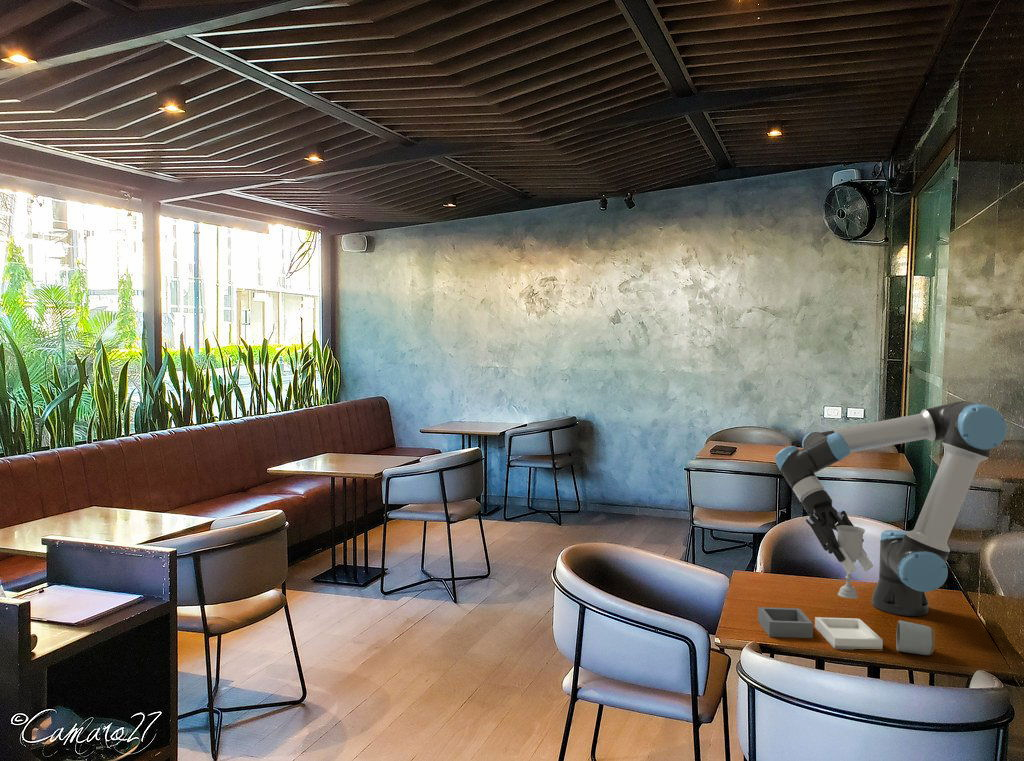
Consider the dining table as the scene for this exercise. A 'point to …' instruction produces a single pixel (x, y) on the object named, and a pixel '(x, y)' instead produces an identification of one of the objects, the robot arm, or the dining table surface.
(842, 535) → the chalice
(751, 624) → the dining table surface
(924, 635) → the ceramic mug
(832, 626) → the off-white tray
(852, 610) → the dining table surface
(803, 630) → the charcoal collar
